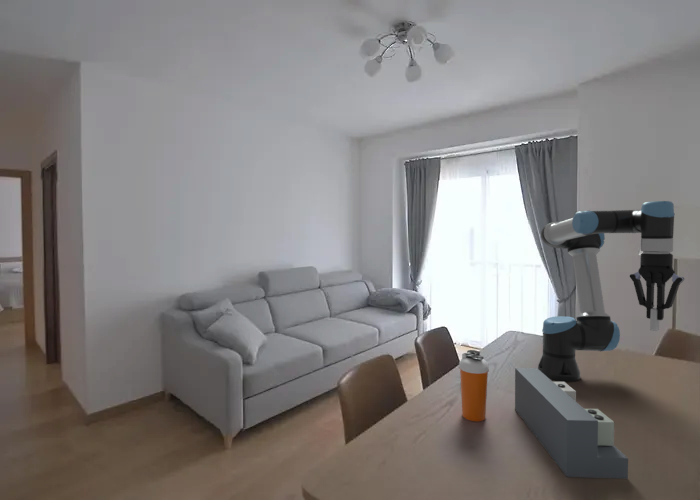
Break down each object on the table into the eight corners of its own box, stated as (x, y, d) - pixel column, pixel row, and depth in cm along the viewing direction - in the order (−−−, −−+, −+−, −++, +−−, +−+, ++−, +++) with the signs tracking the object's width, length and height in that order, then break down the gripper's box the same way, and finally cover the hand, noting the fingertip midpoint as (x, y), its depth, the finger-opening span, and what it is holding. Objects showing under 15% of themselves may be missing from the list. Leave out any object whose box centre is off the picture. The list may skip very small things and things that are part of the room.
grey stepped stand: (558, 410, 122) (559, 368, 122) (627, 478, 89) (629, 421, 88) (515, 409, 123) (515, 367, 123) (566, 476, 90) (567, 420, 89)
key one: (564, 400, 118) (564, 380, 117) (575, 411, 111) (575, 390, 110) (547, 400, 118) (547, 380, 118) (558, 410, 111) (558, 390, 111)
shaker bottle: (474, 426, 113) (474, 361, 112) (453, 413, 121) (453, 353, 120) (494, 418, 118) (494, 356, 117) (473, 407, 125) (473, 348, 124)
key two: (597, 430, 100) (597, 407, 99) (613, 445, 93) (614, 421, 92) (577, 430, 100) (578, 407, 100) (592, 445, 93) (593, 420, 93)
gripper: (688, 252, 109) (686, 332, 110) (635, 251, 120) (633, 323, 121) (680, 254, 105) (678, 336, 106) (626, 252, 115) (624, 327, 117)
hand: (654, 329), depth 113 cm, fingers closed
